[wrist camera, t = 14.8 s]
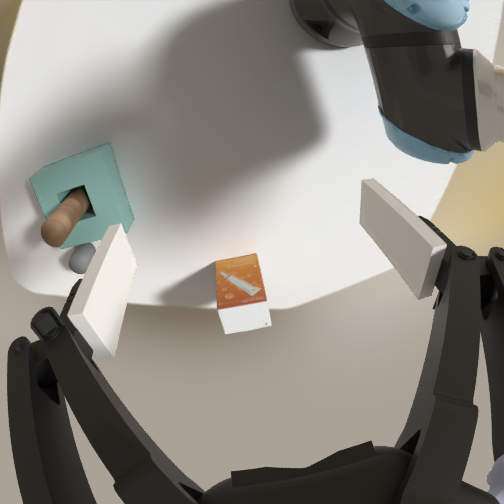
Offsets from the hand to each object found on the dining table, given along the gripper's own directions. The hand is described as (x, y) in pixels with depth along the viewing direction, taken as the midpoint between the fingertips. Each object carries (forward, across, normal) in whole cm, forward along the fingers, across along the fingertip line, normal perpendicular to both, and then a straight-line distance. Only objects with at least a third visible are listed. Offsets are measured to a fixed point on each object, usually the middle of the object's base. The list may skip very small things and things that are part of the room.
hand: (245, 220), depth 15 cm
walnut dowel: (+32, -25, -6) cm, 41 cm away
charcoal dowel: (+32, -30, -17) cm, 47 cm away
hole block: (+32, -25, -6) cm, 41 cm away
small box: (+32, -2, -28) cm, 43 cm away
